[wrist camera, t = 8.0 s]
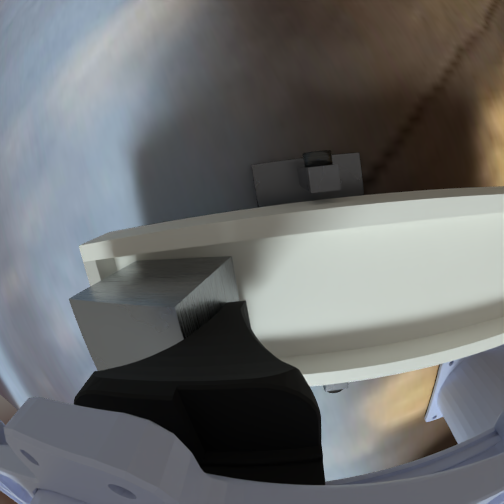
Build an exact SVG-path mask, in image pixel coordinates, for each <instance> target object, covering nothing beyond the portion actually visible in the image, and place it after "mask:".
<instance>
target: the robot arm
mask: <svg viewBox="0 0 504 504" xmlns="http://www.w3.org/2000/svg"><path fill="white" fill-rule="evenodd" d="M441 417H444V419H445V420H446V422H447V424H448V426H449V428H450V430H451V432H452V433H453V435H454V437H455V439H456V441H457V443H458V444H457V445H455V446H452V447H450V448H448V449H445V450H443V451H440V452H437V453H435V454H432V455H429V456H427V457H424V458H421V459H418V460H415V461H412V462H409V463H406V464H402V465H399V466H396V467H392V468H388V469H385V470H381V471H377V472H373V473H369V474H364V475H360V476H355V477H350V478H344V479H339V480H333V481H326V482H325V476H324V468H323V453H322V446H321V414H320V410H319V407H318V404H317V401H316V399H315V396H314V394H313V392H312V390H311V388H310V387H309V385H308V383H307V381H306V380H305V378H304V376H303V375H302V373H301V372H300V370H299V369H298V368H296V367H294V366H292V365H290V364H288V363H285V362H283V361H281V360H280V359H278V358H277V357H275V356H274V355H273V354H272V353H271V352H270V351H268V350H267V349H266V348H265V347H264V346H263V345H262V344H261V342H260V341H259V340H258V339H257V337H256V336H255V334H254V333H253V331H252V329H251V325H250V320H249V314H248V309H247V304H246V300H244V301H235V302H227V303H226V304H224V305H223V307H222V308H221V310H220V311H219V312H218V313H217V314H216V315H215V316H214V317H212V318H211V319H210V320H209V321H208V322H207V323H205V324H204V325H203V326H201V327H200V328H199V329H198V330H196V331H195V332H194V333H192V334H191V335H189V336H188V337H187V338H185V339H183V340H182V341H180V342H178V343H177V344H175V345H173V346H171V347H170V348H167V349H165V350H163V351H161V352H159V353H157V354H155V355H152V356H150V357H148V358H145V359H142V360H139V361H136V362H133V363H130V364H127V365H123V366H119V367H115V368H110V369H105V370H100V371H95V372H94V373H93V374H92V375H91V376H90V378H89V379H88V380H87V382H86V383H85V384H84V386H83V387H82V389H81V390H80V391H79V393H78V394H77V395H76V397H75V399H74V405H73V404H68V403H64V402H59V401H55V400H51V399H47V398H43V397H33V398H28V400H27V401H26V402H25V403H24V404H23V405H22V407H21V408H20V409H19V410H18V411H17V412H16V414H15V415H14V416H13V417H12V419H10V421H9V422H8V423H7V424H6V426H5V424H4V423H3V422H2V421H1V420H0V490H1V491H2V492H4V493H5V494H6V495H7V496H9V497H10V498H12V499H13V500H14V501H16V502H17V503H19V504H504V344H503V345H500V346H497V347H495V348H492V349H489V350H486V351H483V352H480V353H477V354H474V355H470V356H467V357H464V358H460V359H457V360H453V361H450V362H446V363H442V364H440V367H439V371H438V375H437V379H436V383H435V386H434V390H433V393H432V397H431V400H430V403H429V406H428V410H427V413H426V416H425V421H426V422H429V421H432V420H435V419H438V418H441Z"/></svg>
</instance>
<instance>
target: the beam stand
mask: <svg viewBox="0 0 504 504" xmlns="http://www.w3.org/2000/svg"><path fill="white" fill-rule="evenodd" d="M252 171H253V177H254V184H255V190H256V196H257V203H258V208H259V207H266V206H274V205H281V204H289V203H297V202H306V201H314V200H323V199H332V198H341V197H351V196H361V195H364V189H363V180H362V172H361V164H360V156H359V153H349V154H337V155H331V151H330V150H329V151H317V152H309V153H303V158H299V159H291V160H284V161H276V162H269V163H262V164H255V165H252ZM323 387H324V389H325V391H326V392H329V393H337V392H340V391H341V390H343V389H345V388H348V382H345V383H338V384H329V385H323Z"/></svg>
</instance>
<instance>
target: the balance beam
mask: <svg viewBox="0 0 504 504" xmlns="http://www.w3.org/2000/svg"><path fill="white" fill-rule="evenodd" d="M79 248H80V252H81V255H82V259H83V263H84V266H85V270H86V273H87V276H88V280H89V283H90V286H92V285H94V284H95V283H97V282H99V281H101V280H103V279H104V278H106V277H108V276H110V275H111V274H113V273H115V272H117V271H119V270H120V269H122V268H124V267H126V266H128V265H129V264H131V263H133V262H135V261H140V260H161V259H182V258H202V257H222V256H232V260H233V266H234V272H235V278H236V283H237V289H238V295H239V301H244V300H246V304H247V309H248V314H249V320H250V325H251V329H252V331H253V333H254V334H255V336H256V337H257V339H258V340H259V341H260V342H261V344H262V345H263V346H264V347H265V348H266V349H267V350H268V351H270V352H271V353H272V354H273V355H274V356H275V357H277V358H278V359H280V360H281V361H283V362H285V363H288V364H290V365H292V366H294V367H296V368H298V369H299V370H300V372H301V373H302V375H303V376H304V378H305V380H306V381H307V383H308V385H309V387H310V386H320V385H329V384H338V383H345V382H353V381H360V380H366V379H372V378H378V377H384V376H389V375H394V374H399V373H404V372H409V371H413V370H418V369H422V368H426V367H431V366H435V365H439V364H442V363H446V362H450V361H453V360H457V359H460V358H464V357H467V356H470V355H474V354H477V353H480V352H483V351H486V350H489V349H492V348H495V347H497V346H500V345H503V344H504V186H499V187H472V188H452V189H436V190H421V191H407V192H395V193H383V194H372V195H361V196H351V197H341V198H332V199H323V200H314V201H306V202H297V203H289V204H281V205H274V206H266V207H259V208H251V209H244V210H237V211H230V212H224V213H217V214H211V215H204V216H198V217H192V218H186V219H180V220H174V221H168V222H162V223H156V224H151V225H145V226H140V227H134V228H129V229H123V230H118V231H113V232H109V233H106V234H104V235H102V236H99V237H97V238H95V239H93V240H90V241H88V242H86V243H84V244H82V245H79Z"/></svg>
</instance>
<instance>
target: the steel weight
mask: <svg viewBox="0 0 504 504" xmlns="http://www.w3.org/2000/svg"><path fill="white" fill-rule="evenodd" d="M69 301H70V304H71V307H72V309H73V312H74V315H75V318H76V320H77V323H78V326H79V328H80V331H81V333H82V336H83V338H84V341H85V343H86V345H87V348H88V350H89V352H90V355H91V357H92V359H93V361H94V363H95V366H96V368H97V370H98V371H100V370H105V369H110V368H115V367H119V366H123V365H127V364H130V363H133V362H136V361H139V360H142V359H145V358H148V357H150V356H152V355H155V354H157V353H159V352H161V351H163V350H165V349H167V348H170V347H171V346H173V345H175V344H177V343H178V342H180V341H182V340H183V339H185V338H187V337H188V336H189V335H191V334H192V333H194V332H195V331H196V330H198V329H199V328H200V327H201V326H203V325H204V324H205V323H207V322H208V321H209V320H210V319H211V318H212V317H214V316H215V315H216V314H217V313H218V312H219V311H220V310H221V308H222V307H223V305H224V304H226V303H227V302H235V301H239V295H238V289H237V283H236V278H235V272H234V266H233V260H232V256H222V257H202V258H182V259H161V260H140V261H135V262H133V263H131V264H129V265H128V266H126V267H124V268H122V269H120V270H119V271H117V272H115V273H113V274H111V275H110V276H108V277H106V278H104V279H103V280H101V281H99V282H97V283H95V284H94V285H92V286H90V287H89V288H87V289H85V290H83V291H82V292H80V293H78V294H76V295H75V296H73V297H71V298H70V299H69Z"/></svg>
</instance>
